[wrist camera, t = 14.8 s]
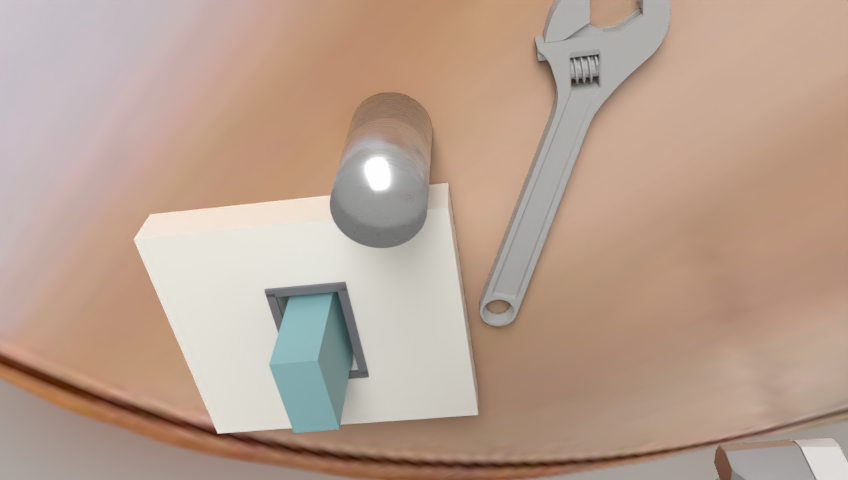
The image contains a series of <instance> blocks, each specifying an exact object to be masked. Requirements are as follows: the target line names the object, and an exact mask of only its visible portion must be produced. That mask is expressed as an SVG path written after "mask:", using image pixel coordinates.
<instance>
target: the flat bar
mask: <svg viewBox="0 0 848 480" xmlns="http://www.w3.org/2000/svg"><path fill="white" fill-rule="evenodd" d="M352 354H353V347H352V344H351V340H350V336H349V332H348V328H347V325H346V321H345V317H344V313H343V309H342V305H341V302H340V298H339V294H338V292H327V293H316V294H306V295H295V296H290V297H289V300H288V303H287V307H286V310H285V313H284V317H283V320H282V323H281V327H280V330H279V333H278V336H277V340H276V343H275V346H274V350H273V353H272V356H271V360H270V363H269V367H270V369H271V372H272V375H273V377H274V380H275V383H276V386H277V388H278V391H279V394H280V396H281V399H282V402H283V405H284V407H285V410H286V413H287V415H288V418H289V421H290V424H291V426H292V429H293V432H294V433H302V432H314V431H327V430H340V424H341V418H342V412H343V407H344V401H345V395H346V389H347V383H348V377H349V372H350V366H351V360H352Z"/></svg>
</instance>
